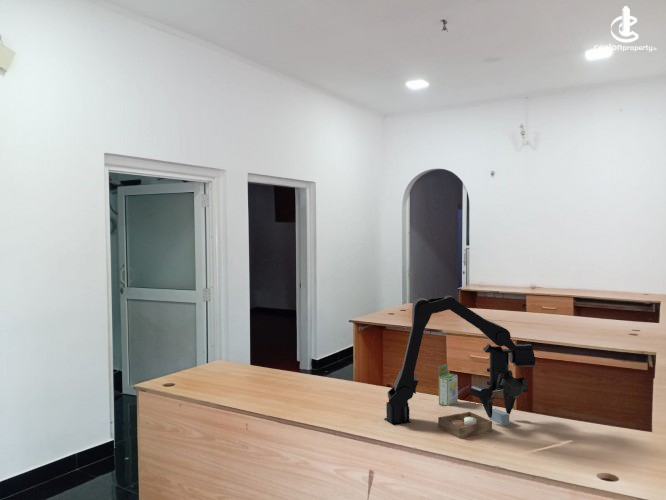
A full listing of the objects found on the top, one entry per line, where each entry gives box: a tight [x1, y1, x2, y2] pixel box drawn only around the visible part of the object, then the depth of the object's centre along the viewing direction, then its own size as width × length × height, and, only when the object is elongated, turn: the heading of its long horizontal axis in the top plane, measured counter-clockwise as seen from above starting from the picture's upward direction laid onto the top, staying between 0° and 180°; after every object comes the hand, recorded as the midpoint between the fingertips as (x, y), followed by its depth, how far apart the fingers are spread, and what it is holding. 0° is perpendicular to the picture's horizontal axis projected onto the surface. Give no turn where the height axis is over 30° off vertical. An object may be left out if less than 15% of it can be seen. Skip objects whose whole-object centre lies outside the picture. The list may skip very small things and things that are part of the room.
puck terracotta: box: [452, 420, 464, 427], centre depth 154 cm, size 4×4×3 cm
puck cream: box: [464, 417, 476, 426], centre depth 157 cm, size 4×4×3 cm
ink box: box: [438, 363, 459, 407], centre depth 182 cm, size 7×4×13 cm, turn 140°
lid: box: [489, 408, 510, 426], centre depth 162 cm, size 13×11×4 cm
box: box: [437, 411, 493, 439], centre depth 155 cm, size 12×10×4 cm
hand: (499, 415), depth 162 cm, fingers open, 7 cm apart
